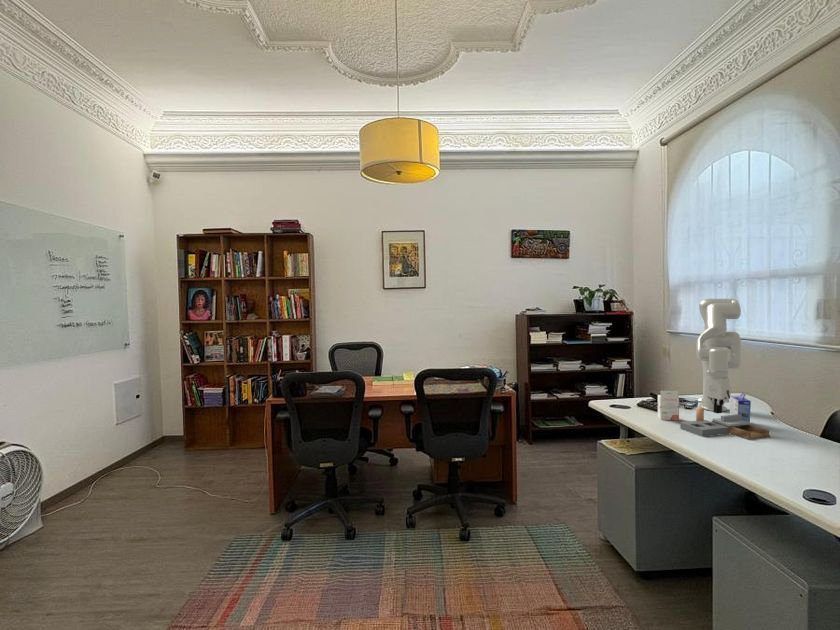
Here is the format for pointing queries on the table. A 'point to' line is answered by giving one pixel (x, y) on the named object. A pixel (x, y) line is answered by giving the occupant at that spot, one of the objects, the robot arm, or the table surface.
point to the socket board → (704, 428)
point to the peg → (699, 414)
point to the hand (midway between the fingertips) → (717, 412)
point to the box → (747, 431)
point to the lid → (731, 420)
